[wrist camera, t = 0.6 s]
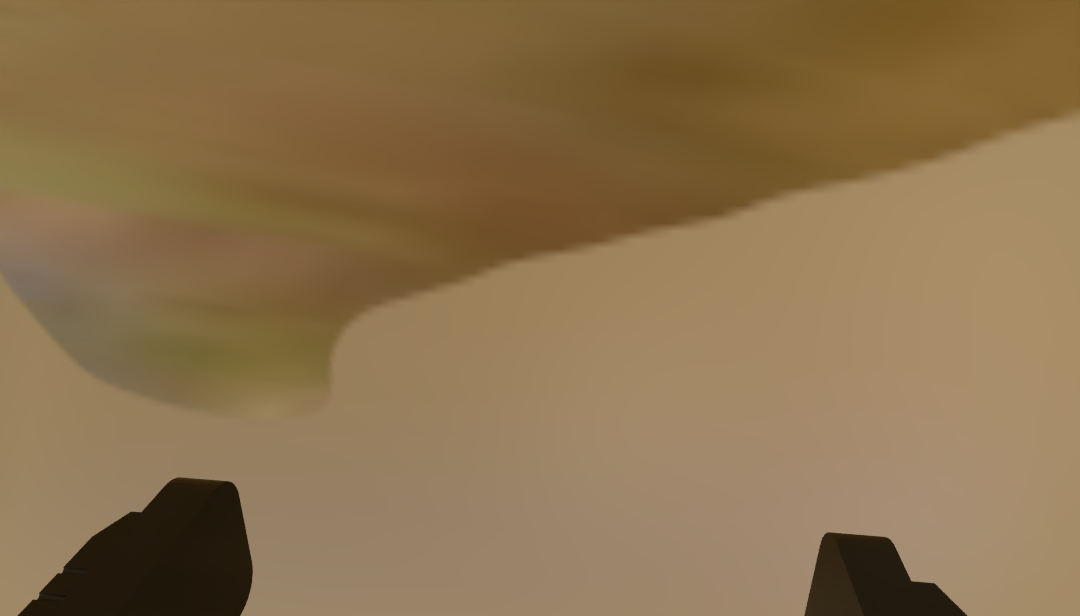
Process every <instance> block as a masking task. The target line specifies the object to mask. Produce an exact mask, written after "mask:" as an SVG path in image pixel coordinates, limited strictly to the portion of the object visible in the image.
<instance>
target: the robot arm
mask: <svg viewBox="0 0 1080 616" xmlns="http://www.w3.org/2000/svg"><path fill="white" fill-rule="evenodd" d="M252 574H253V570H252V560H251V555H250V550H249V545H248V540H247V534H246V529H245V524H244V519H243V513H242V508H241V503H240V498H239V493H238V490H237V488H236V487H235V485H234V484H233V483H232V482H228V481H216V480H204V479H192V478H175V479H173V480H171V481H170V482H169V483H167V484H166V485H165V487H164V488H163V489H162V490H161V491H160V492H159V493H158V494H157V496H156V497H155V498H154V499H153V500H152V501H151V502H150V503H149V505H148V506H147V507H146V508H145V509H144V510H143V511H142V512H130V513H129V514H127V515H126V516H124V517H122V518H121V519H119V520H118V521H116V522H114V523H113V524H111V525H110V526H108V527H107V528H105V529H104V530H102V531H100V532H99V533H97V534H96V535H94V536H93V537H92V538H91V539H90V540H89V541H88V542H87V543H86V544H85V545H84V546H83V547H82V548H81V549H80V550H79V551H78V552H77V554H76V555H75V556H74V557H73V558H72V559H71V560H70V561H69V562H68V563H67V564H66V565H65V566H64V570H63V573H62V574H60V573H58V574H57V575H56V576H55V577H54V578H53V579H52V580H51V581H50V582H49V583H48V584H47V585H46V586H45V587H44V588H43V590H42V591H41V592H40V593H39V594H40V595H39V598H38V599H37V600H32V601H31V602H30V603H29V605H28V606H27V607H26V608H25V609H24V610H23V611H22V612H21V613H20V614H19V615H18V616H240V615H241V613H242V611H243V609H244V607H245V605H246V602H247V600H248V596H249V593H250V589H251V584H252ZM805 616H967V615H966V614H965V613H964V612H963V611H962V610H961V609H960V608H959V607H958V606H957V605H956V604H955V603H954V602H953V601H952V600H951V599H950V598H949V597H948V596H947V595H946V594H945V593H944V592H942V590H941V589H940V588H938V586H937V585H936V584H934V583H923V582H912V581H911V580H910V578H909V576H908V574H907V571H906V569H905V567H904V565H903V563H902V561H901V558H900V556H899V554H898V552H897V550H896V548H895V546H894V544H893V543H892V541H891V540H890V539H889V538H886V537H878V536H866V535H854V534H841V533H826V534H825V535H824V537H823V538H822V541H821V545H820V549H819V553H818V558H817V562H816V566H815V571H814V575H813V580H812V585H811V589H810V593H809V598H808V602H807V607H806V611H805Z"/></svg>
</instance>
